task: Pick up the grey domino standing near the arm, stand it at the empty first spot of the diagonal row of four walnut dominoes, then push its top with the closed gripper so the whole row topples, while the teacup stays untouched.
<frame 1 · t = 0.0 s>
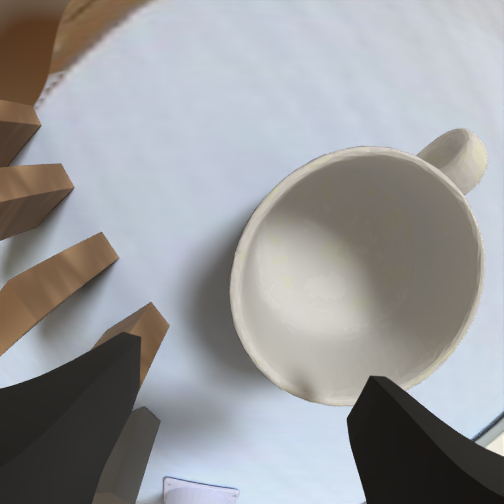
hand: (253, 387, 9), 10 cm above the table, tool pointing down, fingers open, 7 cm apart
domino 2: (136, 328, 19), on the table
domino 3: (87, 263, 18), on the table
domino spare: (134, 420, 22), on the table
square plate: (470, 466, 28), on the table
teacup: (348, 228, 18), on the table
domino 5: (17, 137, 16), on the table
domino 4: (47, 196, 17), on the table
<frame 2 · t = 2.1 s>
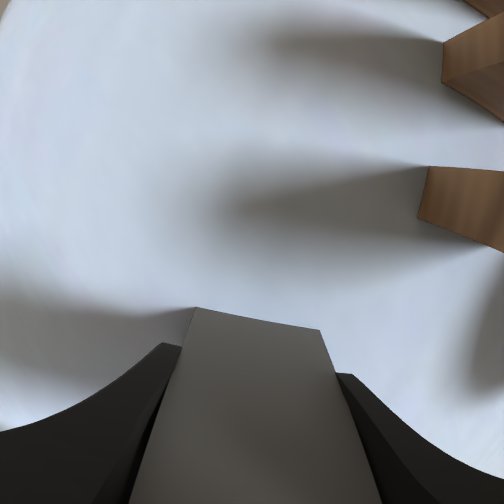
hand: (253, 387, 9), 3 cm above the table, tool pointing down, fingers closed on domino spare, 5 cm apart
domino 2: (465, 209, 10), on the table
domino 3: (483, 86, 8), on the table
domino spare: (253, 342, 11), on the table, touching gripper
when the fingers open (3 cm above the table, at t = 5.4 s): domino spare stays where it is, on the table.
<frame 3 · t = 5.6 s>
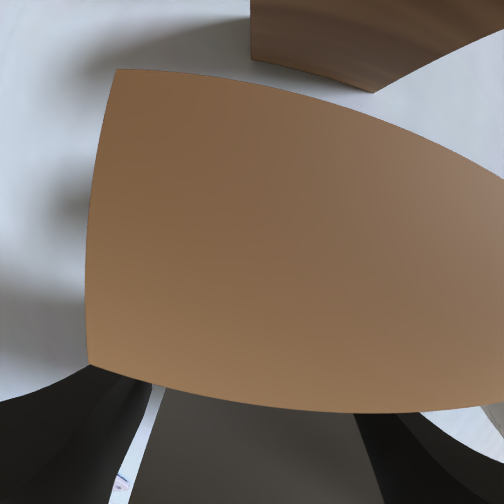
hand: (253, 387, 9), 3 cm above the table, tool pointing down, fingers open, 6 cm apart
domino 2: (287, 193, 10), on the table
domino 3: (319, 51, 9), on the table
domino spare: (253, 330, 12), on the table
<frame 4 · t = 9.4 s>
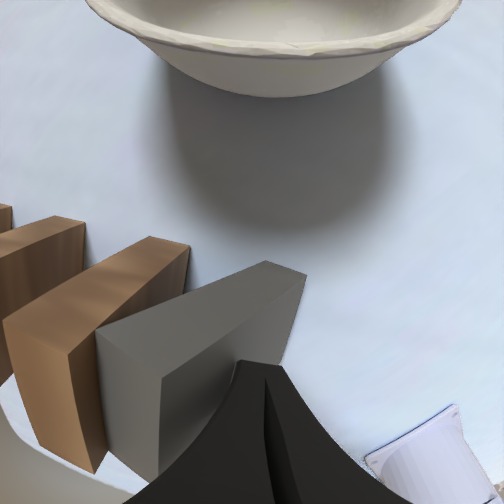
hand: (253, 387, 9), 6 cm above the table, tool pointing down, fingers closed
domino 2: (163, 287, 14), on the table
domino 3: (67, 261, 14), on the table
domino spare: (273, 313, 14), on the table, tilted 27°
domino 4: (1, 241, 13), on the table
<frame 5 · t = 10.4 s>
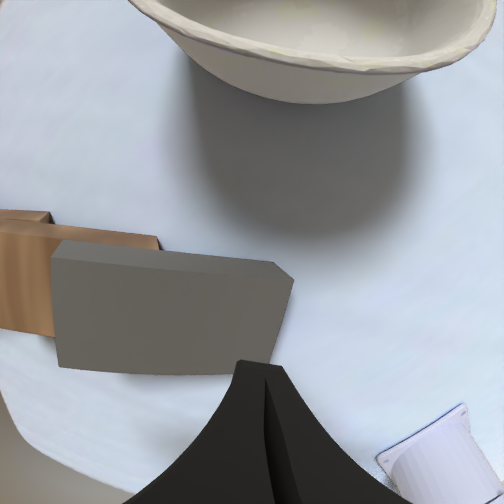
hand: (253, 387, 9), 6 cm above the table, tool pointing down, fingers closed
domino 2: (151, 291, 13), point 1 cm above the table, tilted 69°, touching domino 3, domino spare
domino 3: (45, 260, 13), point 1 cm above the table, tilted 68°, touching domino 2, domino 4
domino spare: (269, 318, 13), point 1 cm above the table, tilted 69°, touching domino 2
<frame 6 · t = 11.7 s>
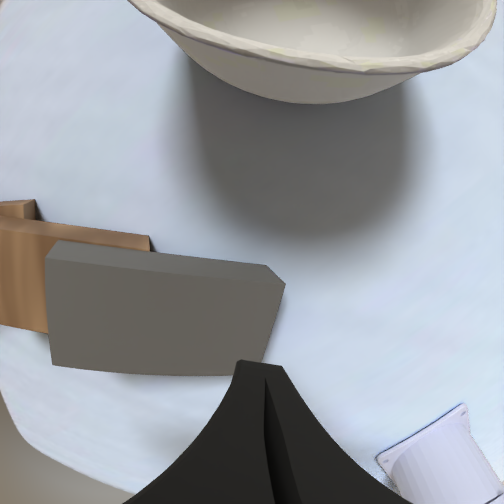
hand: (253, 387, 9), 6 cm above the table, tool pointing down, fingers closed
domino 2: (142, 290, 13), point 1 cm above the table, tilted 70°, touching domino 3, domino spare
domino 3: (32, 246, 13), point 1 cm above the table, tilted 68°, touching domino 2, domino 4
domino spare: (261, 321, 13), point 1 cm above the table, tilted 69°, touching domino 2
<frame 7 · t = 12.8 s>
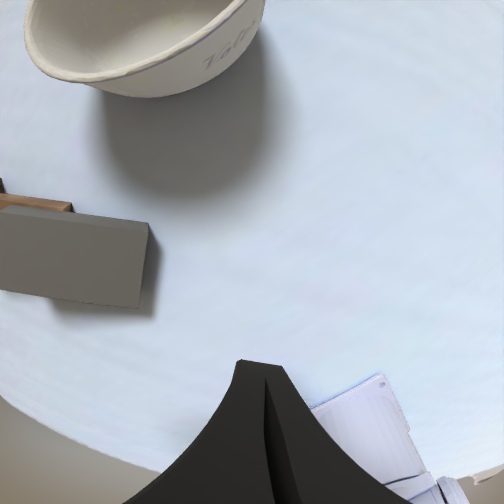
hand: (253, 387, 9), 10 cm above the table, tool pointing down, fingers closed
domino 2: (64, 241, 16), point 1 cm above the table, tilted 71°, touching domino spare
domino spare: (142, 265, 17), point 1 cm above the table, tilted 69°, touching domino 2
teacup: (175, 13, 14), on the table
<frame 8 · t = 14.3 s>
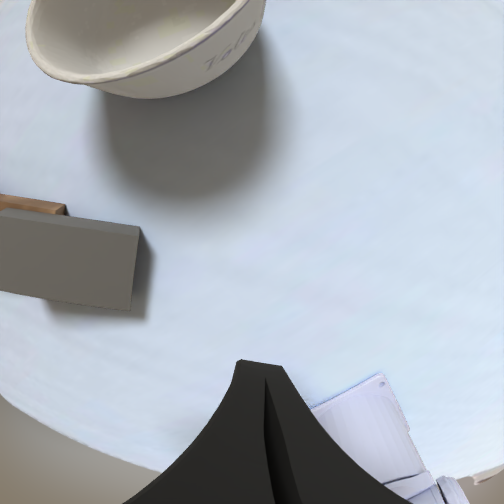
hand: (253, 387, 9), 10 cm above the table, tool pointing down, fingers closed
domino 2: (57, 242, 17), point 1 cm above the table, tilted 74°, touching domino 3, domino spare
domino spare: (134, 268, 17), point 1 cm above the table, tilted 70°, touching domino 2
teacup: (176, 14, 14), on the table
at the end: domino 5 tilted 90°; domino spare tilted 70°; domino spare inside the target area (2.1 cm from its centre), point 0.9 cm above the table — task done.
